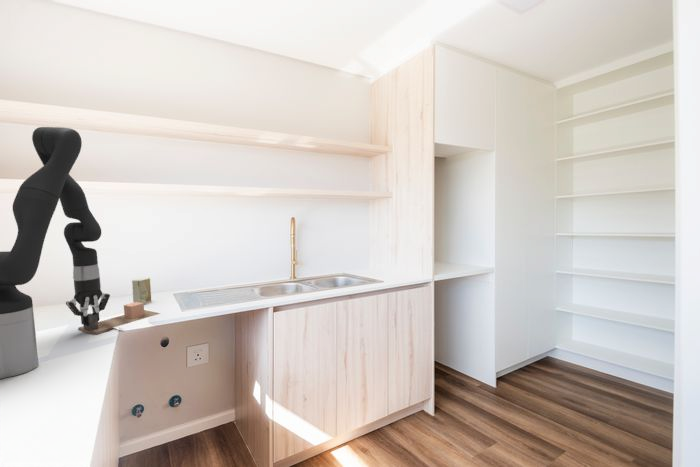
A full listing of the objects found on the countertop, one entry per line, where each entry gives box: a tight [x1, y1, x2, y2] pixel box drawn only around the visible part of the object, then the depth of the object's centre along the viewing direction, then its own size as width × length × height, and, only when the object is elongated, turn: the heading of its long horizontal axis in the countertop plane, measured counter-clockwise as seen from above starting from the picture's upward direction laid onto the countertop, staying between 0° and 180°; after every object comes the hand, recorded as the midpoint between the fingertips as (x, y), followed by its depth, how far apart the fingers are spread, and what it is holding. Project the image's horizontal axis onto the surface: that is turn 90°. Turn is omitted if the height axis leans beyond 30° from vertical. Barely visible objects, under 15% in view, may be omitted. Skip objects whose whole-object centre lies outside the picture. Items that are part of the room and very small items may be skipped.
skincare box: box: [131, 277, 152, 306], centre depth 159 cm, size 6×4×12 cm
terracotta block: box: [123, 302, 145, 319], centre depth 140 cm, size 5×5×5 cm
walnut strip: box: [77, 309, 161, 336], centre depth 136 cm, size 24×12×6 cm, turn 151°
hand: (90, 324), depth 127 cm, fingers closed on walnut strip, 2 cm apart
